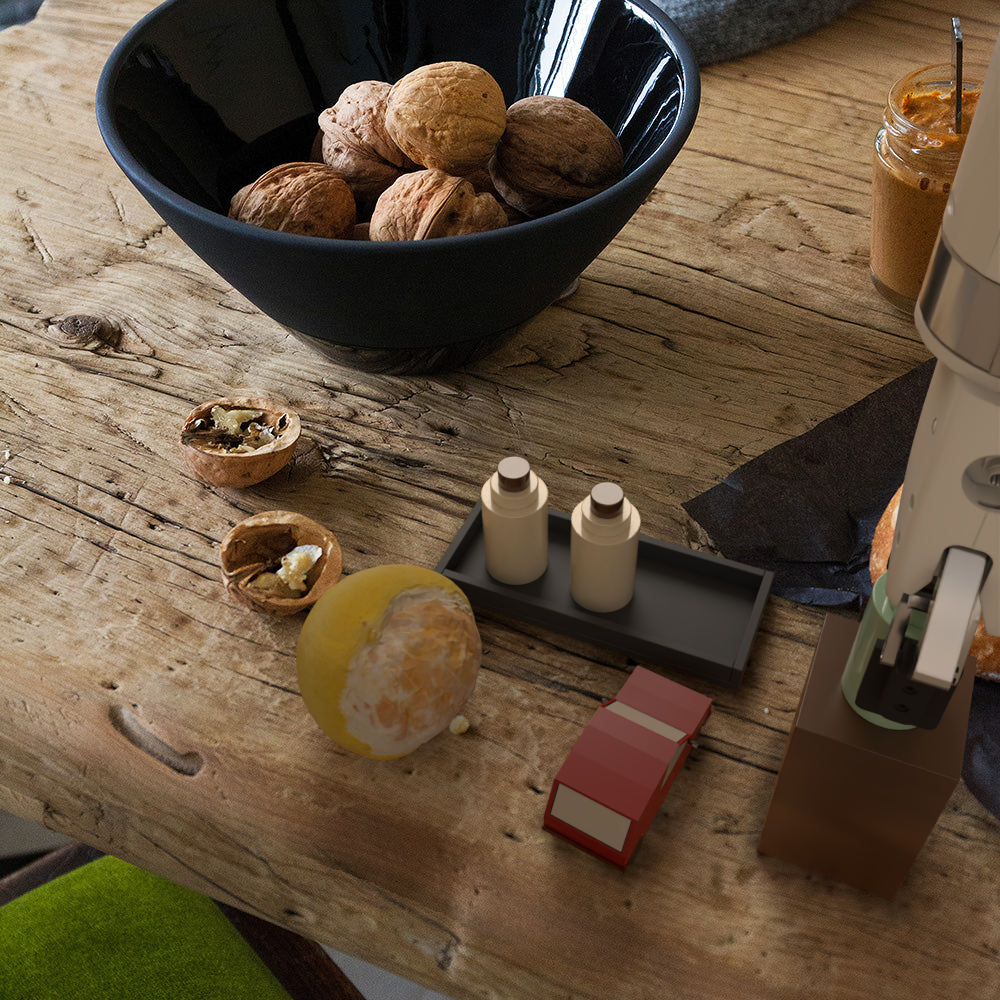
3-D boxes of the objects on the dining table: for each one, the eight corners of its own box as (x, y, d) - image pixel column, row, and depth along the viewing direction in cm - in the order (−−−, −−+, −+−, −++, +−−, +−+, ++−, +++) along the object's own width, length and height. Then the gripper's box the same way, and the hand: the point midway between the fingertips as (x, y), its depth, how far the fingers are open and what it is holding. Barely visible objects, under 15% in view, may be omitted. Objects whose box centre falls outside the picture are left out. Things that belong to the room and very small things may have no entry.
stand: (912, 786, 57) (977, 656, 48) (892, 901, 52) (960, 781, 44) (785, 743, 59) (826, 612, 50) (756, 850, 54) (794, 726, 46)
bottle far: (557, 548, 69) (558, 454, 63) (533, 593, 66) (532, 499, 60) (500, 531, 70) (496, 437, 64) (474, 574, 68) (467, 480, 62)
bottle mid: (642, 573, 67) (652, 479, 61) (621, 620, 65) (629, 527, 59) (582, 555, 69) (586, 461, 62) (559, 601, 66) (561, 507, 60)
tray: (770, 593, 67) (775, 572, 65) (737, 692, 61) (742, 671, 60) (486, 510, 73) (484, 489, 71) (434, 593, 68) (432, 572, 66)
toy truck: (717, 725, 60) (730, 675, 56) (629, 891, 53) (638, 847, 49) (627, 682, 62) (634, 631, 58) (531, 836, 55) (533, 790, 52)
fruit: (281, 761, 59) (245, 658, 52) (361, 620, 66) (339, 512, 59) (445, 815, 56) (431, 713, 49) (511, 662, 63) (506, 554, 56)
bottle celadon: (942, 670, 48) (1000, 545, 42) (930, 743, 45) (990, 621, 39) (850, 642, 49) (893, 517, 43) (833, 711, 46) (876, 589, 40)
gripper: (1196, 514, 25) (979, 850, 38) (1182, 185, 36) (1017, 530, 49) (881, 438, 27) (775, 779, 40) (958, 150, 39) (856, 488, 51)
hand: (909, 640), depth 44 cm, fingers open, 7 cm apart
